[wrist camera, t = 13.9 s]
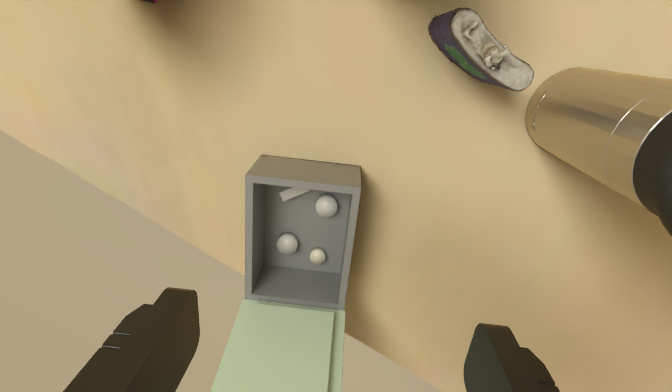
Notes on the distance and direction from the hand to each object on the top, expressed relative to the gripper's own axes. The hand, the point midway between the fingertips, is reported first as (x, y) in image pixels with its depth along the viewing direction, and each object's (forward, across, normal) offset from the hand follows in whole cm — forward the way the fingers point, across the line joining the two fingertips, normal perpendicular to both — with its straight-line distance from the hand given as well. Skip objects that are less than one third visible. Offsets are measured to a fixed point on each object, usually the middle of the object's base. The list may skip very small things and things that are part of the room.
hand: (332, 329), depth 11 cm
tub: (+34, +4, +14) cm, 37 cm away
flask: (+34, -11, -8) cm, 37 cm away
